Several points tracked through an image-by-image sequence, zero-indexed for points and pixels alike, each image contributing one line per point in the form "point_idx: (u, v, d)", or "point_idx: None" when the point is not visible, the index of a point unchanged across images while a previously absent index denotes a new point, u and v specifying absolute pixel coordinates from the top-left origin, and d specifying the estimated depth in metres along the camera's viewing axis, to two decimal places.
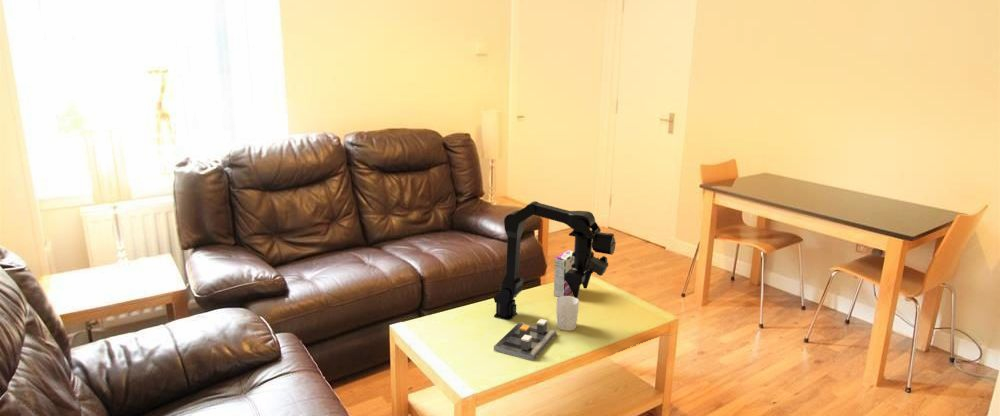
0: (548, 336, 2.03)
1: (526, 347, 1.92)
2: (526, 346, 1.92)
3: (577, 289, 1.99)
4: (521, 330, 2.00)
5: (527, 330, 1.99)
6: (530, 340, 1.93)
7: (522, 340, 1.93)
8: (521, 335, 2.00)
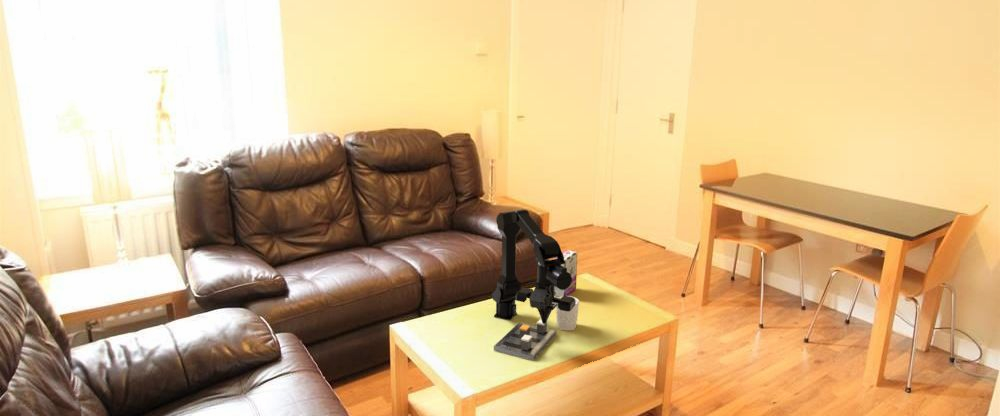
0: (548, 336, 2.03)
1: (526, 347, 1.92)
2: (526, 346, 1.92)
3: None
4: (521, 330, 2.00)
5: (527, 330, 1.99)
6: (530, 340, 1.93)
7: (522, 340, 1.93)
8: (521, 335, 2.00)
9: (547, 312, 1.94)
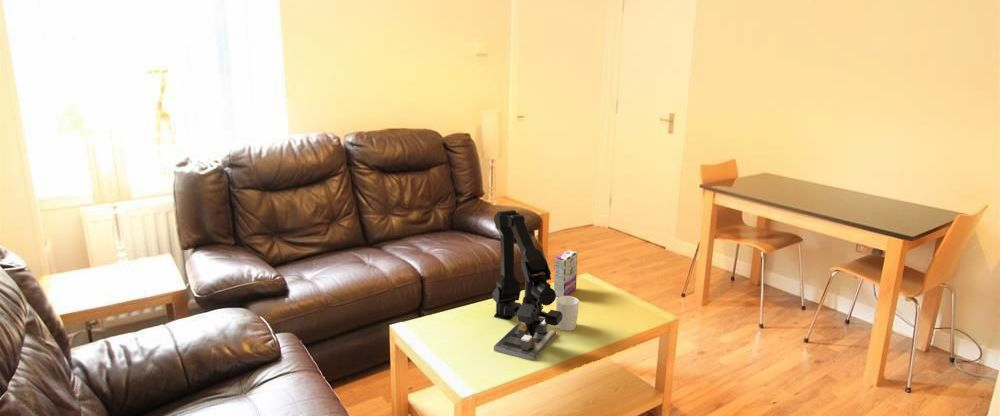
0: (548, 336, 2.03)
1: (526, 347, 1.92)
2: (526, 346, 1.92)
3: None
4: (520, 330, 2.00)
5: (525, 330, 2.00)
6: (530, 340, 1.93)
7: (522, 340, 1.93)
8: (520, 335, 2.00)
9: (534, 326, 1.97)
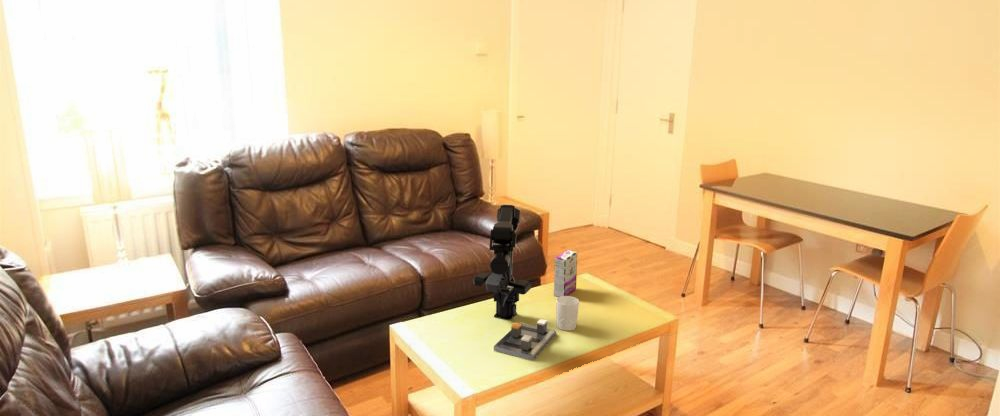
0: (548, 336, 2.03)
1: (526, 347, 1.92)
2: (526, 346, 1.92)
3: None
4: (512, 328, 2.01)
5: (518, 328, 2.01)
6: (530, 340, 1.93)
7: (522, 340, 1.93)
8: (513, 333, 2.01)
9: (504, 296, 2.00)
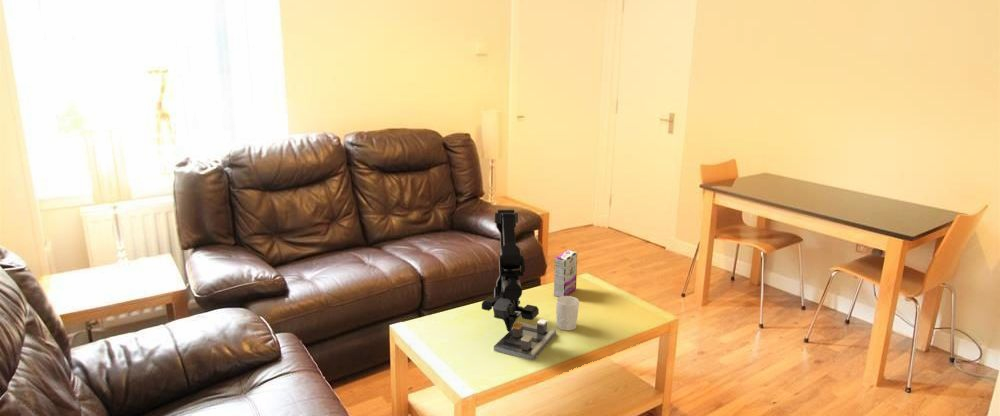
0: (548, 336, 2.03)
1: (526, 347, 1.92)
2: (526, 346, 1.92)
3: None
4: (514, 329, 2.01)
5: (519, 329, 2.00)
6: (530, 340, 1.93)
7: (522, 340, 1.93)
8: (514, 333, 2.01)
9: (511, 320, 2.00)
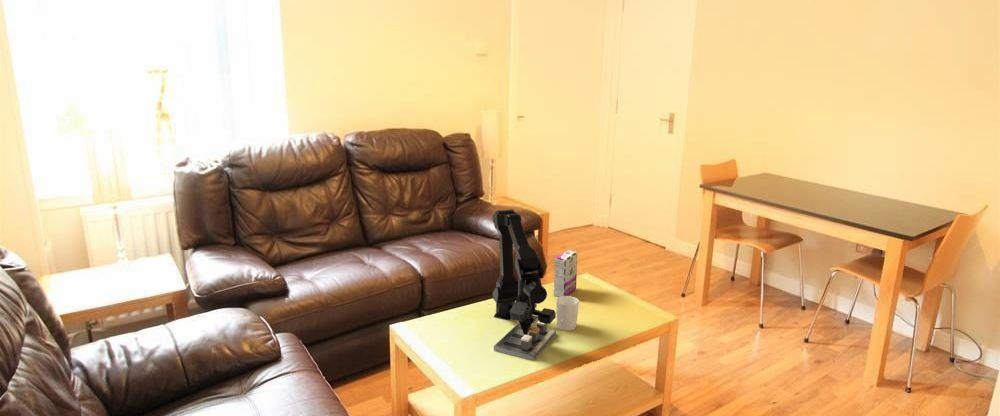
0: (548, 336, 2.03)
1: (526, 347, 1.92)
2: (526, 346, 1.92)
3: None
4: (530, 333, 1.98)
5: (536, 333, 1.98)
6: (530, 340, 1.93)
7: (522, 340, 1.93)
8: None
9: (528, 324, 1.98)
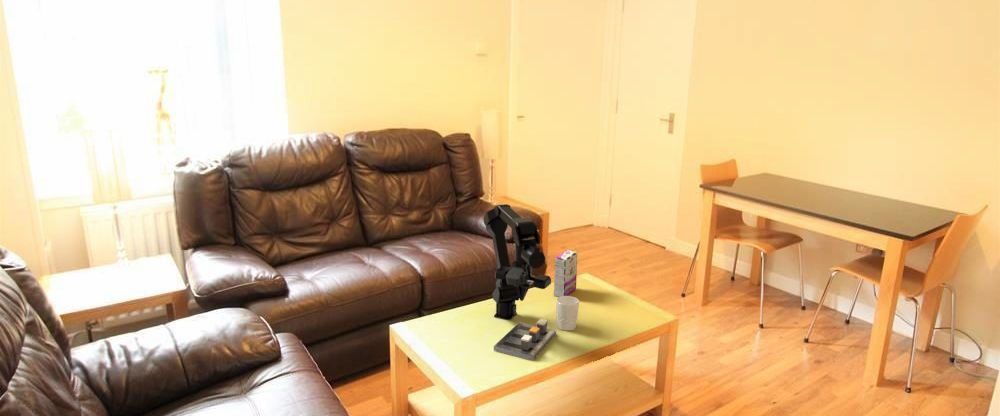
0: (548, 336, 2.03)
1: (526, 347, 1.92)
2: (526, 346, 1.92)
3: None
4: (530, 333, 1.98)
5: (536, 333, 1.98)
6: (530, 340, 1.93)
7: (522, 340, 1.93)
8: None
9: (524, 289, 2.03)
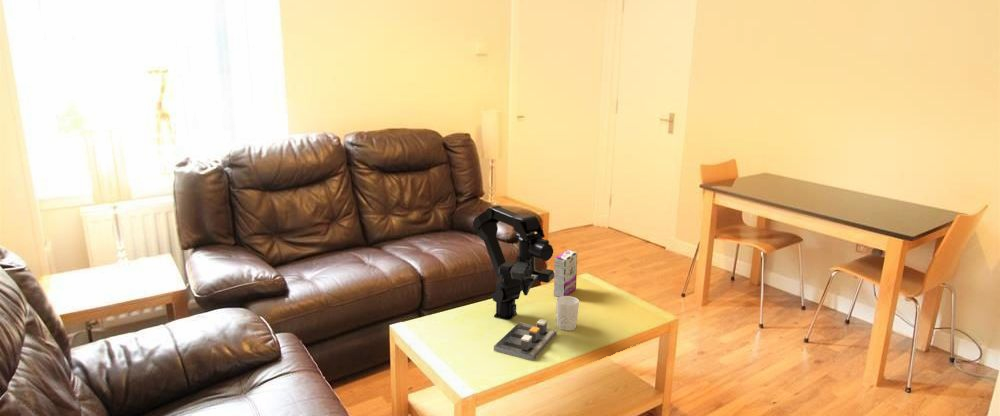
0: (548, 336, 2.03)
1: (526, 347, 1.92)
2: (526, 346, 1.92)
3: None
4: (530, 333, 1.98)
5: (536, 333, 1.98)
6: (530, 340, 1.93)
7: (522, 340, 1.93)
8: None
9: (528, 284, 2.07)
